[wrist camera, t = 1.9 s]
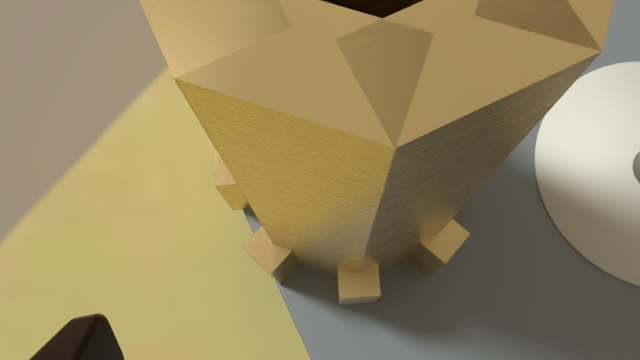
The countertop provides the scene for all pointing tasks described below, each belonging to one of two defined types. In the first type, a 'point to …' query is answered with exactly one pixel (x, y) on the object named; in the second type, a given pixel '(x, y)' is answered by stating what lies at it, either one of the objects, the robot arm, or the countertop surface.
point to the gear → (368, 115)
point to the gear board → (519, 245)
